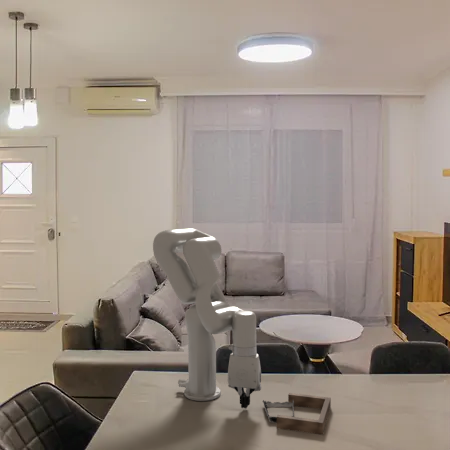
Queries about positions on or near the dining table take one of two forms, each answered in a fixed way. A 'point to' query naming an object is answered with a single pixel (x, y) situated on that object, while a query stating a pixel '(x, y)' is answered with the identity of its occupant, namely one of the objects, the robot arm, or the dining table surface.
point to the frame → (304, 423)
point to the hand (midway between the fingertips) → (244, 406)
